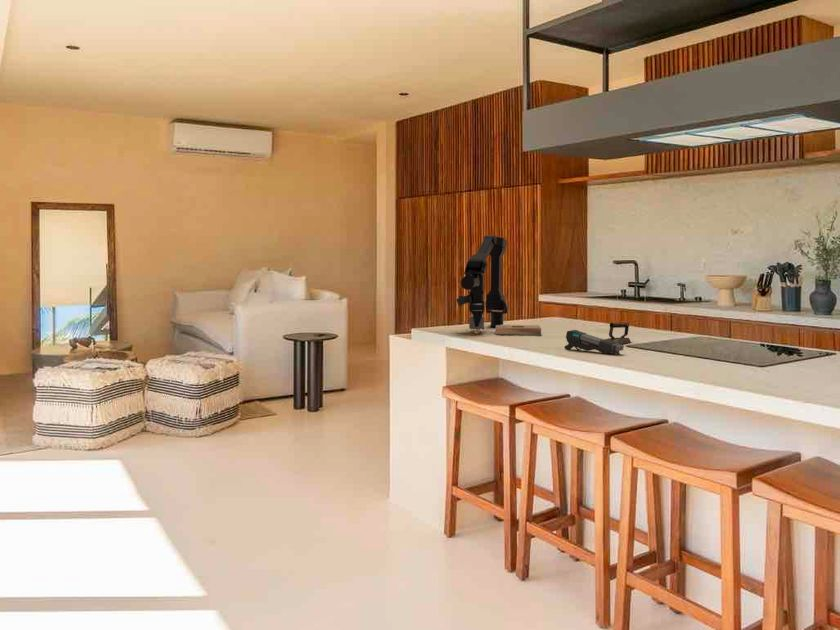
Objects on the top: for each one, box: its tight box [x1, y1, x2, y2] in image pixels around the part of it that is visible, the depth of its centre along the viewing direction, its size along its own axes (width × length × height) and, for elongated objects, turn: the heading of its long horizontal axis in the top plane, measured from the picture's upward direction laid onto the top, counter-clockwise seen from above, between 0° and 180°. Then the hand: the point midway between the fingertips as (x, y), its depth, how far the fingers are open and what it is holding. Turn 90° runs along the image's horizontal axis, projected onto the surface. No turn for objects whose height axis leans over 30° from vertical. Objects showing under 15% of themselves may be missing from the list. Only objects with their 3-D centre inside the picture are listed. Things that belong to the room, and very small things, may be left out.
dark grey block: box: [468, 315, 485, 334], centre depth 303 cm, size 6×6×7 cm
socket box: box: [495, 324, 542, 337], centre depth 300 cm, size 11×18×4 cm, turn 85°
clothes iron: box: [605, 321, 632, 346], centre depth 273 cm, size 7×11×10 cm, turn 124°
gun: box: [564, 329, 625, 356], centre depth 251 cm, size 4×20×10 cm, turn 48°
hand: (476, 325), depth 303 cm, fingers closed on dark grey block, 6 cm apart
